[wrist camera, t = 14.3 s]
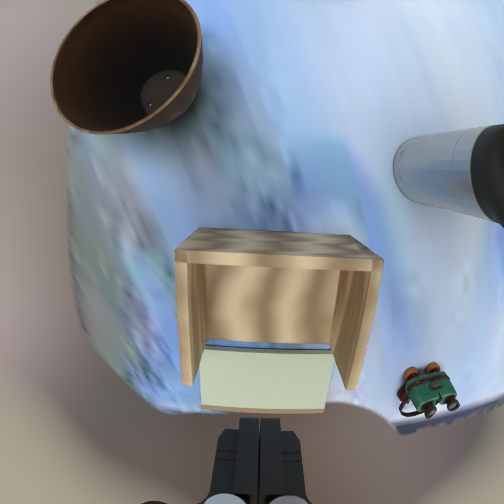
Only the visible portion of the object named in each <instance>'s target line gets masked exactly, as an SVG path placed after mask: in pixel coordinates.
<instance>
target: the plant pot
mask: <svg viewBox="0 0 504 504" xmlns="http://www.w3.org/2000/svg"><path fill="white" fill-rule="evenodd" d="M202 62H203V52H202V37H201V28H200V23H199V20H198V18H197V15H196V13H195V12H194V10H193V9H192V7H191V6H190V5H189V4H188V3H187V2H186V1H185V0H104V1H102V2H100V3H99V4H97V5H96V6H94V7H93V8H92V9H90V10H89V11H88V12H86V13H85V14H84V15H83V16H82V17H81V18H80V19H79V20H78V21H77V22H76V23H75V24H74V25H73V27H72V28H71V29H70V30H69V32H68V33H67V34H66V36H65V38H64V39H63V41H62V43H61V44H60V47H59V49H58V51H57V53H56V56H55V59H54V62H53V65H52V70H51V78H50V87H51V95H52V99H53V102H54V105H55V107H56V109H57V111H58V113H59V115H60V116H61V117H62V118H63V120H64V121H65V122H66V123H68V124H69V125H70V126H72V127H73V128H75V129H77V130H79V131H82V132H85V133H89V134H101V135H104V134H120V133H133V132H140V131H145V130H149V129H153V128H157V127H160V126H162V125H165V124H167V123H170V122H172V121H173V120H175V119H177V118H178V117H180V116H181V115H182V114H183V113H184V112H185V111H186V110H187V109H188V108H189V107H190V105H191V104H192V102H193V100H194V98H195V96H196V93H197V91H198V88H199V84H200V80H201V73H202ZM166 76H169V79H166V78H165V77H166ZM150 102H151V103H152V105H151V106H148V104H149V103H150Z"/></svg>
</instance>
